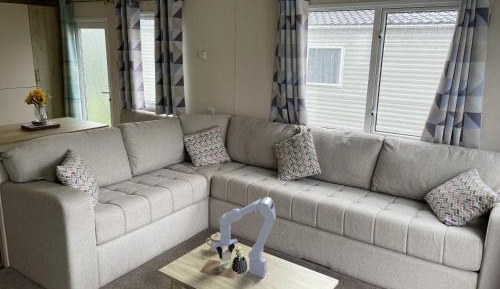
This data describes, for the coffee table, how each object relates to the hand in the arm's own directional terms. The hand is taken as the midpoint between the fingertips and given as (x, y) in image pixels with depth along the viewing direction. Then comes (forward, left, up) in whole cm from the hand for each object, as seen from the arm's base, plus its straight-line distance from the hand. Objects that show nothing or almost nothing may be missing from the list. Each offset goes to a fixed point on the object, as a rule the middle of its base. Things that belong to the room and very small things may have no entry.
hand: (225, 257), depth 225 cm
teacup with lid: (+12, -16, -6) cm, 21 cm away
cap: (0, 0, -1) cm, 1 cm away
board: (+1, +4, -6) cm, 7 cm away
